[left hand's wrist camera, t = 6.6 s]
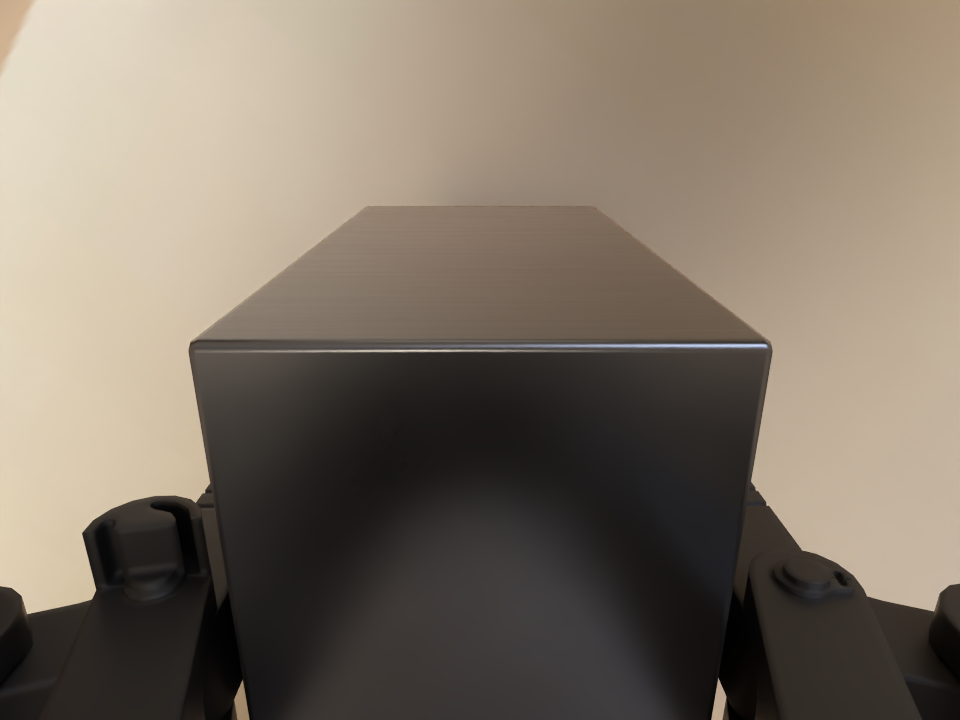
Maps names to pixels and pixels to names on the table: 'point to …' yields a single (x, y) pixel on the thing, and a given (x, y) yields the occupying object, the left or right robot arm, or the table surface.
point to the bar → (480, 471)
